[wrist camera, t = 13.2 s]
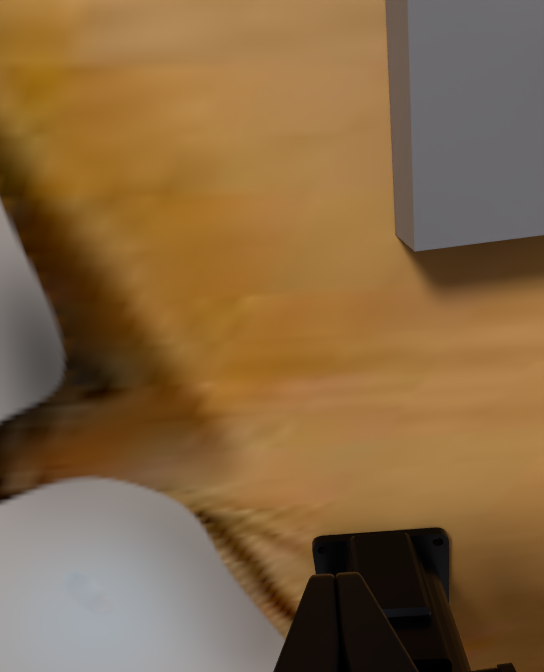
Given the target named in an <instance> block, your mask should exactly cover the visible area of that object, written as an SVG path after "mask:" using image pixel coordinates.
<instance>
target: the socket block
mask: <svg viewBox="0 0 544 672" xmlns="http://www.w3.org/2000/svg"><path fill="white" fill-rule="evenodd" d="M386 24H387V47H388V70H389V93H390V116H391V140H392V163H393V186H394V209H395V232H396V235H397V236H398V237H399V238H400V239H401V240H402V241H403V242H404V243H406V244H407V245H408V246H409V247H410V248H411V249H412V250H413V251H414V252H416V251H423V250H431V249H439V248H447V247H455V246H462V245H470V244H478V243H486V242H493V241H501V240H509V239H517V238H525V237H532V236H540V235H544V0H386Z"/></svg>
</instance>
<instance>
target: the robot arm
mask: <svg viewBox="0 0 544 672" xmlns="http://www.w3.org/2000/svg"><path fill="white" fill-rule="evenodd" d="M436 538H439V539H436ZM435 539H436V540H435ZM321 546H325V547H323V548H322V547H321ZM312 551H313V558H314V564H315V571H316V575H312V576H311V577H310V579H309V580H308V583H307V586H306V588H305V591H304V593H303V596H302V599H301V601H300V604H299V606H298V609H297V612H296V614H295V617H294V619H293V622H292V624H291V627H290V630H289V632H288V635H287V637H286V640H285V643H284V645H283V648H282V651H281V653H280V656H279V658H278V661H277V663H276V667H275V669H274V671H273V672H516V670H515V668H514V666H513V664H512V663H506V664H499V665H497V668H491V669H483V670H476V671H471V669H470V666H469V663H468V660H467V657H466V654H465V651H464V648H463V645H462V642H461V639H460V636H459V633H458V630H457V627H456V624H455V621H454V618H453V615H452V612H451V609H450V606H449V541H448V537H447V535H446V532H445V531H444V530H443V529H441V528H425V529H411V530H397V531H383V532H370V533H356V534H342V535H328V536H319V537H316V538H315V539H314V540H313V542H312Z"/></svg>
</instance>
